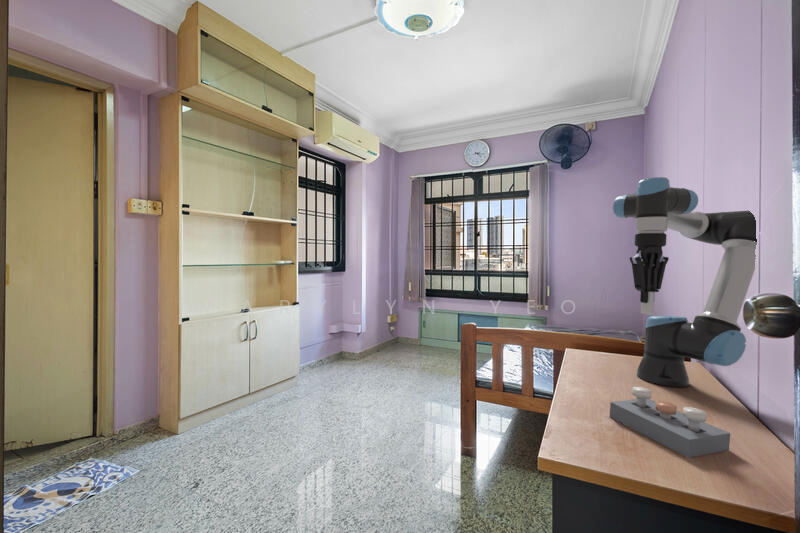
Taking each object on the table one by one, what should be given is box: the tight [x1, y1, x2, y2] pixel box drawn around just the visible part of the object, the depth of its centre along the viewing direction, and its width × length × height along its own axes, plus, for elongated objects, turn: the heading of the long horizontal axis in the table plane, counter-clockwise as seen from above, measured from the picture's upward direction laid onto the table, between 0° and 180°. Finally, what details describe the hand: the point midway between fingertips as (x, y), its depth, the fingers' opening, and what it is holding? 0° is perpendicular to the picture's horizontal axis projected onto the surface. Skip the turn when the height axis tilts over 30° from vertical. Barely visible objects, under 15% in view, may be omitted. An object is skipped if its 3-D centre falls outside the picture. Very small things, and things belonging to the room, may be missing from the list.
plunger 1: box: [631, 386, 653, 409], centre depth 96 cm, size 4×4×5 cm
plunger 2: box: [682, 406, 708, 433], centre depth 84 cm, size 4×4×5 cm
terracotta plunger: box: [655, 400, 678, 420], centre depth 90 cm, size 4×4×5 cm
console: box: [609, 398, 731, 458], centre depth 90 cm, size 13×20×4 cm, turn 18°
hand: (646, 313), depth 106 cm, fingers closed
